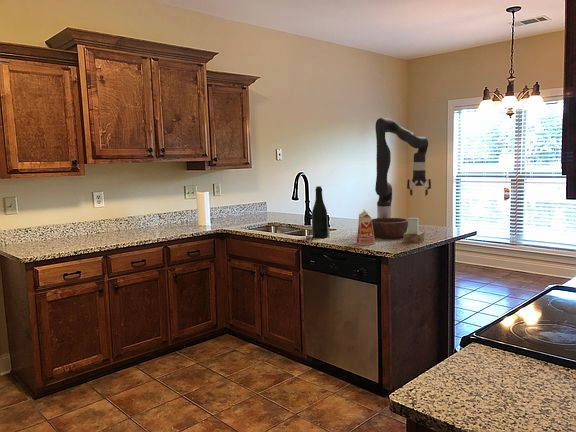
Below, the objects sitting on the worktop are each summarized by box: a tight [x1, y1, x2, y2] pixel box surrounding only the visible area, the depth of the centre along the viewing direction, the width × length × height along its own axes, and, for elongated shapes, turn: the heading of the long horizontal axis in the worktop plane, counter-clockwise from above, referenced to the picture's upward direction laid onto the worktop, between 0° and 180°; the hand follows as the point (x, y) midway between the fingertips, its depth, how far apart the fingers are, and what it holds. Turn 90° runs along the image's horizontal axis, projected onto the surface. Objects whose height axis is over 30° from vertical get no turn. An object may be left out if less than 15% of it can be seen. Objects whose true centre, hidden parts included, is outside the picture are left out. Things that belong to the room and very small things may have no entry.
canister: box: [407, 217, 420, 234], centre depth 285 cm, size 6×6×9 cm
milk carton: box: [355, 208, 375, 246], centre depth 282 cm, size 9×9×20 cm
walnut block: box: [402, 231, 425, 244], centre depth 285 cm, size 10×10×5 cm
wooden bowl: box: [371, 217, 408, 239], centre depth 306 cm, size 25×25×10 cm
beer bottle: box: [311, 185, 329, 239], centre depth 311 cm, size 10×10×33 cm
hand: (418, 195), depth 299 cm, fingers open, 8 cm apart
